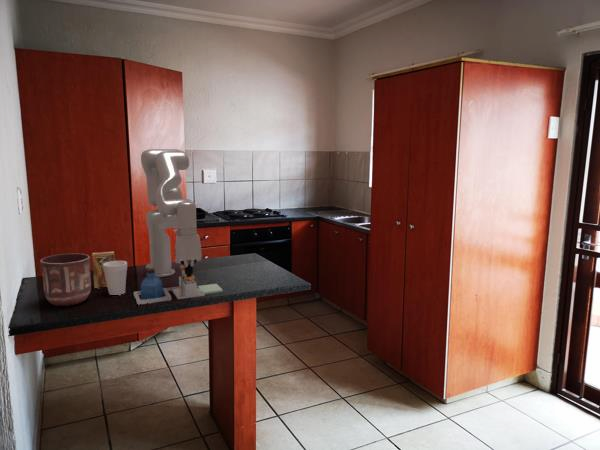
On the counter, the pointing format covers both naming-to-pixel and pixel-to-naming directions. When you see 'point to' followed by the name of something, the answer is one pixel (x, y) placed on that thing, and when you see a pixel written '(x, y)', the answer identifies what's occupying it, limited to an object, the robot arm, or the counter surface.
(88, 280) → the pottery
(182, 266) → the plunger
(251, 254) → the counter surface
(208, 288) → the mat
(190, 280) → the plunger
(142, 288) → the perfume bottle
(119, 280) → the foam cup
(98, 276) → the candy box
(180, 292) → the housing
